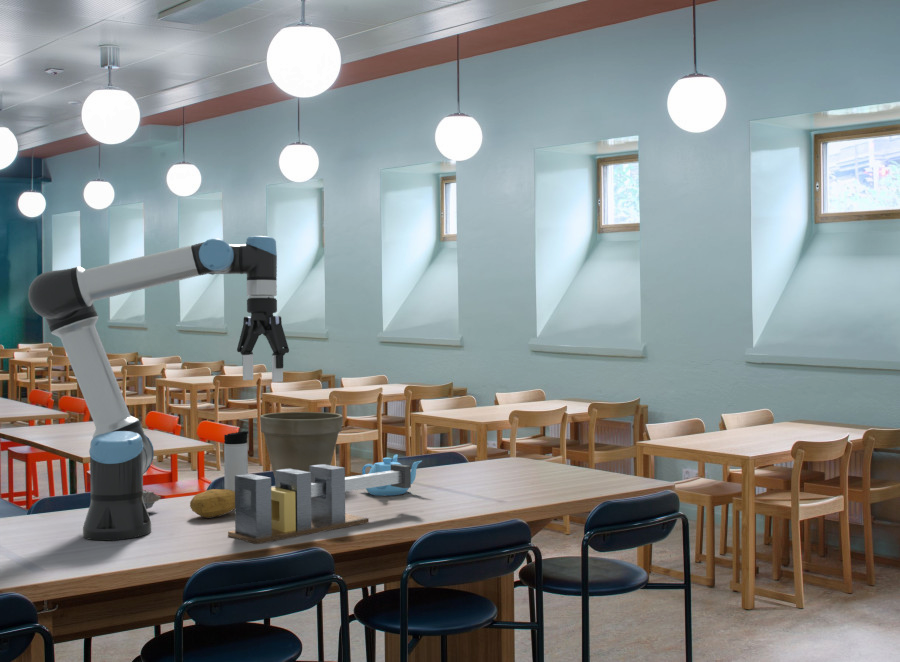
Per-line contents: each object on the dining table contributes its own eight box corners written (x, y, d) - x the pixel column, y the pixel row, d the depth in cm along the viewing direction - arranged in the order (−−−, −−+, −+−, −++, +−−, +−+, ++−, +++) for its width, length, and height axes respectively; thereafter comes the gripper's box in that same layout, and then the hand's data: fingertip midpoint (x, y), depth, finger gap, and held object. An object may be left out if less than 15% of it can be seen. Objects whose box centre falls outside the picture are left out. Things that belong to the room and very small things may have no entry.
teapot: (354, 492, 279) (353, 457, 279) (399, 487, 286) (399, 452, 286) (376, 499, 266) (375, 462, 266) (423, 494, 274) (422, 458, 274)
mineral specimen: (129, 531, 251) (149, 525, 244) (105, 513, 247) (124, 507, 241) (147, 501, 257) (167, 494, 251) (124, 483, 254) (143, 476, 247)
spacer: (284, 532, 219) (284, 493, 219) (264, 526, 226) (263, 488, 226) (295, 530, 221) (295, 491, 221) (274, 524, 228) (274, 487, 228)
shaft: (299, 505, 224) (298, 482, 224) (285, 502, 228) (285, 479, 228) (410, 487, 248) (410, 465, 248) (396, 485, 252) (396, 463, 252)
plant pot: (359, 482, 295) (358, 412, 295) (308, 495, 273) (307, 419, 273) (296, 477, 307) (295, 409, 307) (243, 488, 286) (242, 416, 286)
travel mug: (243, 506, 257) (242, 432, 257) (220, 505, 259) (220, 432, 258) (252, 502, 263) (252, 429, 263) (230, 501, 265) (229, 429, 265)
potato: (185, 516, 245) (185, 489, 245) (234, 510, 251) (234, 484, 251) (195, 522, 237) (194, 494, 237) (245, 516, 243) (244, 489, 243)
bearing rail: (256, 543, 212) (255, 481, 212) (228, 535, 221) (227, 475, 220) (368, 522, 234) (368, 465, 234) (338, 515, 243) (338, 461, 243)
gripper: (302, 296, 236) (303, 381, 236) (248, 299, 254) (248, 378, 254) (277, 295, 231) (277, 383, 231) (223, 298, 249) (223, 379, 249)
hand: (262, 381), depth 242 cm, fingers open, 13 cm apart
